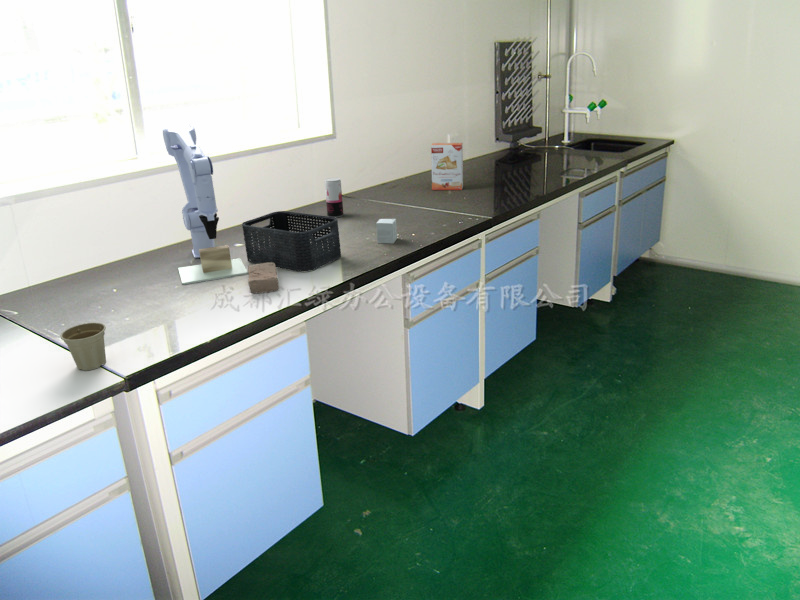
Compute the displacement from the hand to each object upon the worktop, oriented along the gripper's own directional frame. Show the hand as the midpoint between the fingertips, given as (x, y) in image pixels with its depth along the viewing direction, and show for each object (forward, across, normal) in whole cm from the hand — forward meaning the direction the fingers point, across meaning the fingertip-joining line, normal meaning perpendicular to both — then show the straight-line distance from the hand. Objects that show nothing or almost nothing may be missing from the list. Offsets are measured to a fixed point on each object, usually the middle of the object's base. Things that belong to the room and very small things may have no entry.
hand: (212, 237), depth 212 cm
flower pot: (+10, +60, -36) cm, 71 cm away
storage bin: (+10, +7, +24) cm, 27 cm away
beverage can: (+10, -40, +53) cm, 67 cm away
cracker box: (+10, -60, +113) cm, 128 cm away
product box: (+10, +4, +59) cm, 60 cm away
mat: (+9, +6, -2) cm, 12 cm away
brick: (+10, +26, +11) cm, 30 cm away
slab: (+9, +6, 0) cm, 11 cm away
